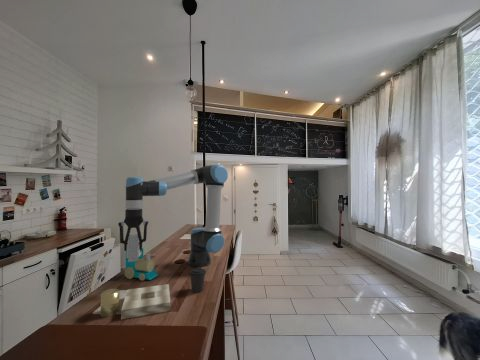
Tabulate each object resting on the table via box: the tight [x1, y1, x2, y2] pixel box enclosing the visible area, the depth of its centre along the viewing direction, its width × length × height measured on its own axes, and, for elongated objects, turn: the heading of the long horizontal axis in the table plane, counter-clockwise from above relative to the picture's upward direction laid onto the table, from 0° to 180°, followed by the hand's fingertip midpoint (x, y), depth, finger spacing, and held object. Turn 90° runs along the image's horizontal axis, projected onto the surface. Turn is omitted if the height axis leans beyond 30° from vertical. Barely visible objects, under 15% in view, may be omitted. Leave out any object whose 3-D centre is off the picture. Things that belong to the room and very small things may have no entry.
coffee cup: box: [188, 267, 207, 294], centre depth 109 cm, size 8×8×10 cm
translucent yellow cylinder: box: [99, 288, 120, 318], centre depth 90 cm, size 6×6×8 cm
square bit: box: [128, 233, 139, 262], centre depth 108 cm, size 4×4×12 cm
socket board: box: [120, 283, 171, 321], centre depth 97 cm, size 18×18×4 cm
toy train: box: [124, 248, 159, 281], centre depth 125 cm, size 8×17×15 cm, turn 73°
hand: (133, 256), depth 108 cm, fingers closed on square bit, 4 cm apart
